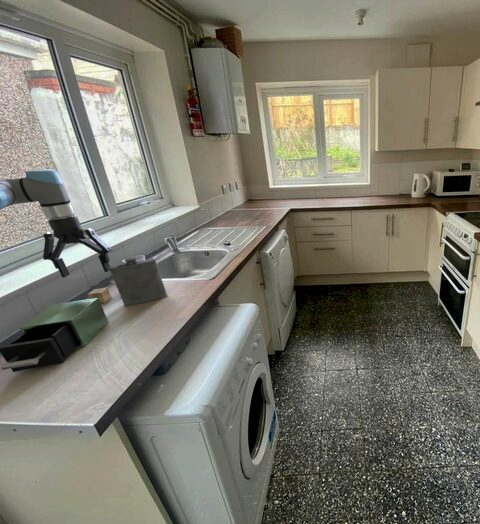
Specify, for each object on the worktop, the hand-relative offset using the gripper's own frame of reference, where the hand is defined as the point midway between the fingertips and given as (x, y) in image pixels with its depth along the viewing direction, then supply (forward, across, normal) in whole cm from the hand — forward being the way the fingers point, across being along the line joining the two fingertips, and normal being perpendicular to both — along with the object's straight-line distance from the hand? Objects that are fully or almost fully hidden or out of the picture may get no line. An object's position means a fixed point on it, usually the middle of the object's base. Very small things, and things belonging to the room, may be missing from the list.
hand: (87, 273), depth 106 cm
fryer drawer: (+12, -4, +34) cm, 36 cm away
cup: (+13, -8, -15) cm, 22 cm away
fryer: (+13, -4, +23) cm, 27 cm away
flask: (+13, -17, +3) cm, 22 cm away
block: (+13, +1, -3) cm, 14 cm away
